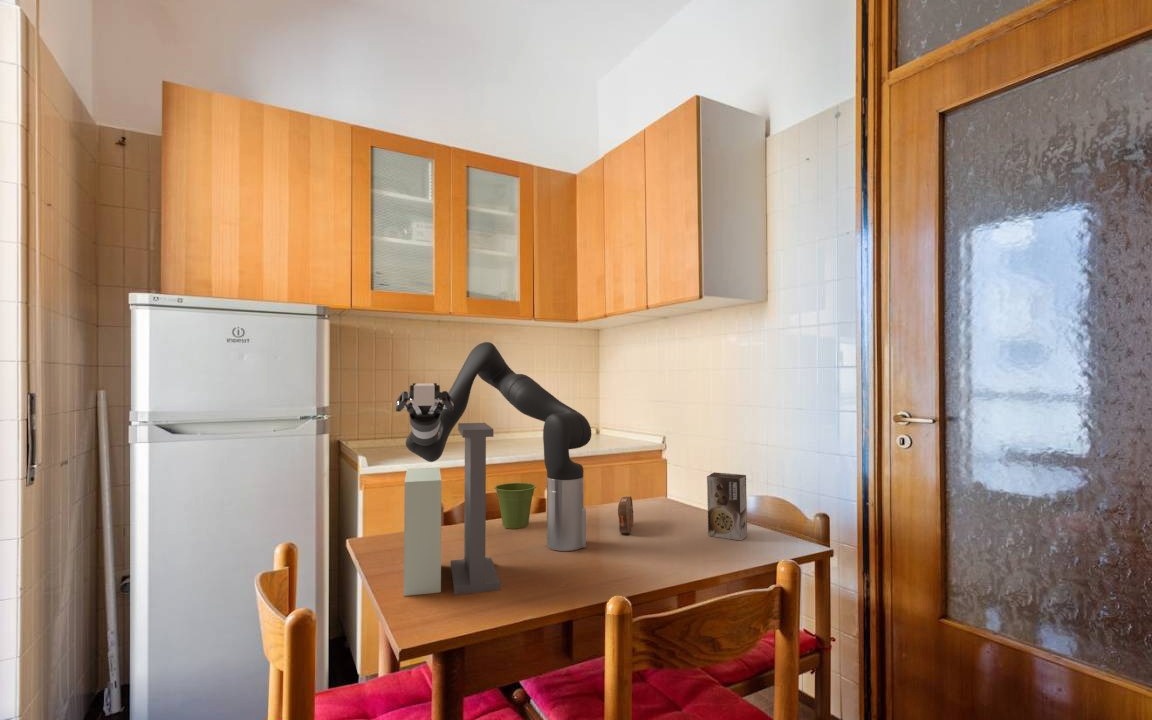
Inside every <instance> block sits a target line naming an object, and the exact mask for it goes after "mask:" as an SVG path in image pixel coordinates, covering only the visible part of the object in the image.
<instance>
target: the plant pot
mask: <svg viewBox="0 0 1152 720" xmlns="http://www.w3.org/2000/svg"><path fill="white" fill-rule="evenodd" d="M536 488H537V486H536V484H534V483H528V482H508V483H500V484H497V485H495V486H494V489H495V490H496V496H497V499H498V504H499V509H500V516H501V522H502V526H503V528H504V529H505V528H506V529H512V530H516V529H518V528H521V529H523V528H526V527H528V526H529V522H530V515H531V507H532V502H533V501H532V500H533V497H534V493H535V489H536Z"/></svg>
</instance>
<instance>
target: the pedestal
mask: <svg viewBox="0 0 1152 720" xmlns="http://www.w3.org/2000/svg"><path fill="white" fill-rule="evenodd" d="M442 480H443V479H442V475H441V470H440V467H439V466H437V467H417V468H415V467H413V468H411V467H410V468H406V473H405V478H404V499H403V500H404V505H403V506H404V511H403V512H404V517H403V519H404V520H403V525H404V527H403V528H404V529H403V596H404V597H408V596H409V597H410V596H418V595H426V594H427V595H428V594H436V593H441V592H442V591H441V590H442V485H443V484H442V483H443V482H442Z"/></svg>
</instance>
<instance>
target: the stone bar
mask: <svg viewBox="0 0 1152 720" xmlns="http://www.w3.org/2000/svg"><path fill="white" fill-rule="evenodd" d="M434 383H435V382H434ZM434 383H432V382H431V383H416V384H415V385H414V406H434V390H435V386H434Z"/></svg>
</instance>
